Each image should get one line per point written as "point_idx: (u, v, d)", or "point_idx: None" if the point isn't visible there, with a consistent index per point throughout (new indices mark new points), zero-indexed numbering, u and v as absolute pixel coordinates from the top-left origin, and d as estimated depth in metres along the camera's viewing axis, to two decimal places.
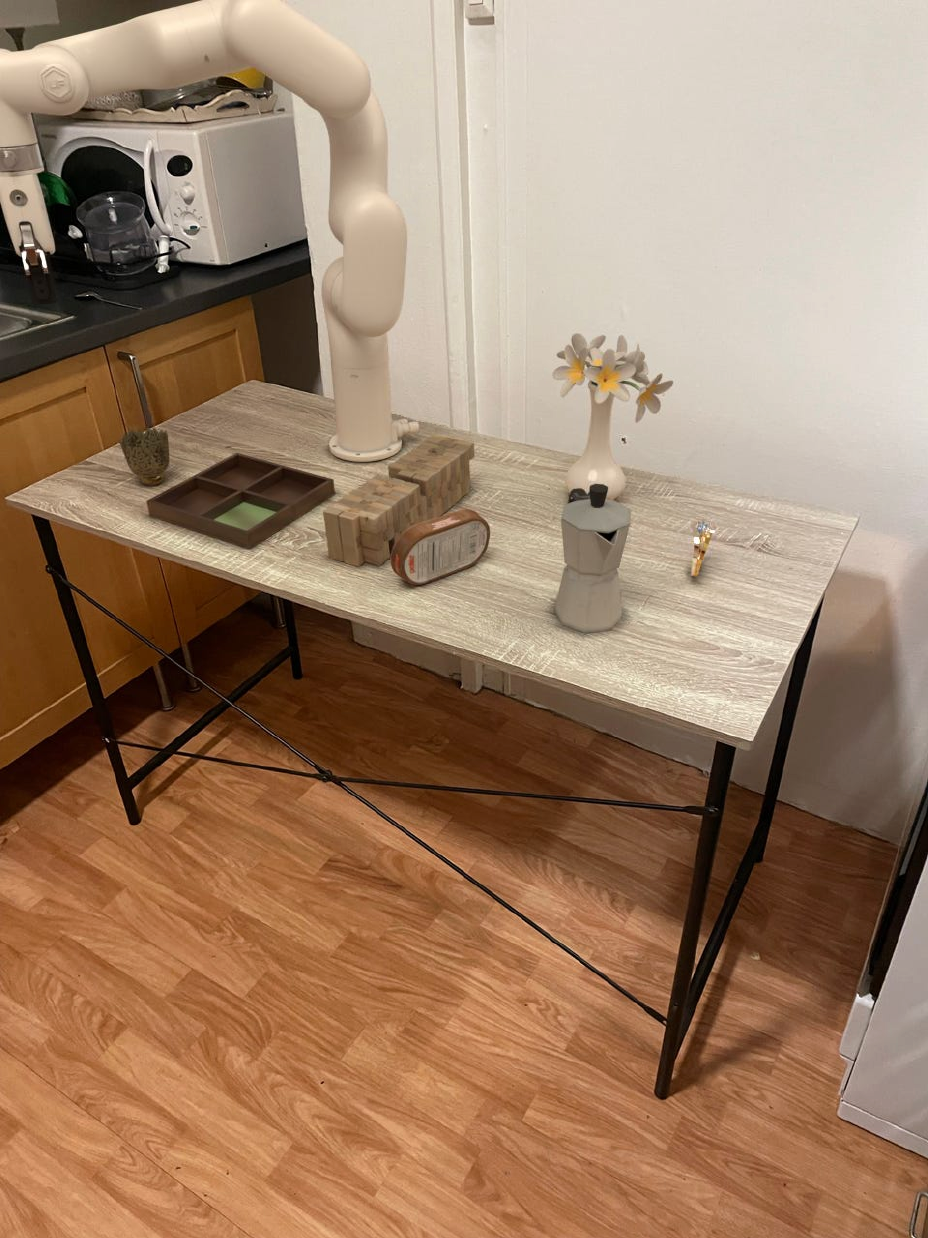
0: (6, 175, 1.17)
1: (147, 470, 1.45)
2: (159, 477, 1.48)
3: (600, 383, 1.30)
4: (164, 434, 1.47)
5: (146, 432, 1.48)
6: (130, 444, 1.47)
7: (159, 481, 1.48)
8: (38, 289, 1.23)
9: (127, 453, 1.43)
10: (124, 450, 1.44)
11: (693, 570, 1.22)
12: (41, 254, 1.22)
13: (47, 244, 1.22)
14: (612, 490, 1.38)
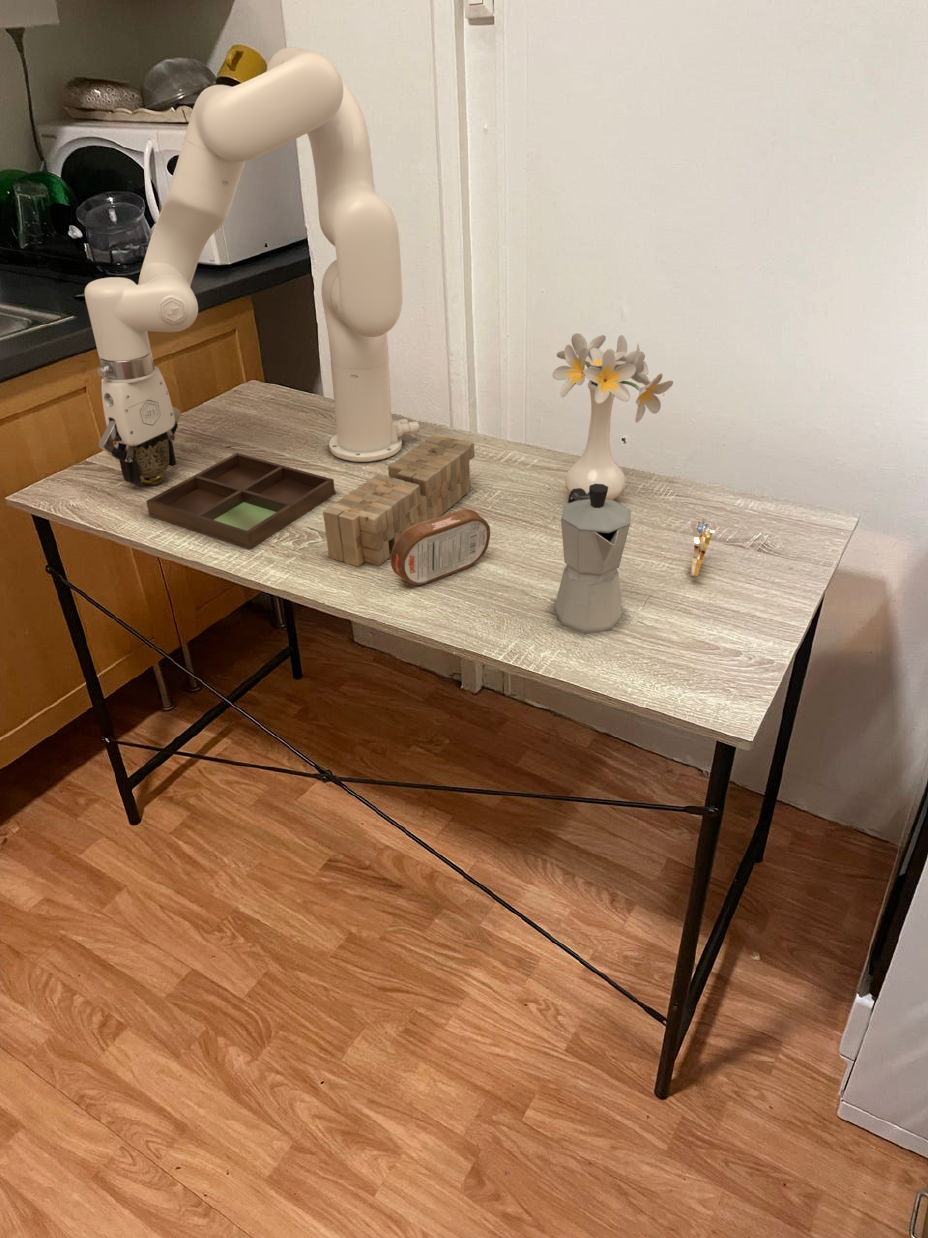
0: (106, 380, 1.37)
1: (147, 470, 1.45)
2: (159, 477, 1.48)
3: (600, 383, 1.30)
4: None
5: None
6: None
7: (159, 481, 1.48)
8: (123, 471, 1.44)
9: None
10: (124, 450, 1.44)
11: (693, 570, 1.22)
12: (127, 447, 1.41)
13: (125, 439, 1.39)
14: (612, 490, 1.38)
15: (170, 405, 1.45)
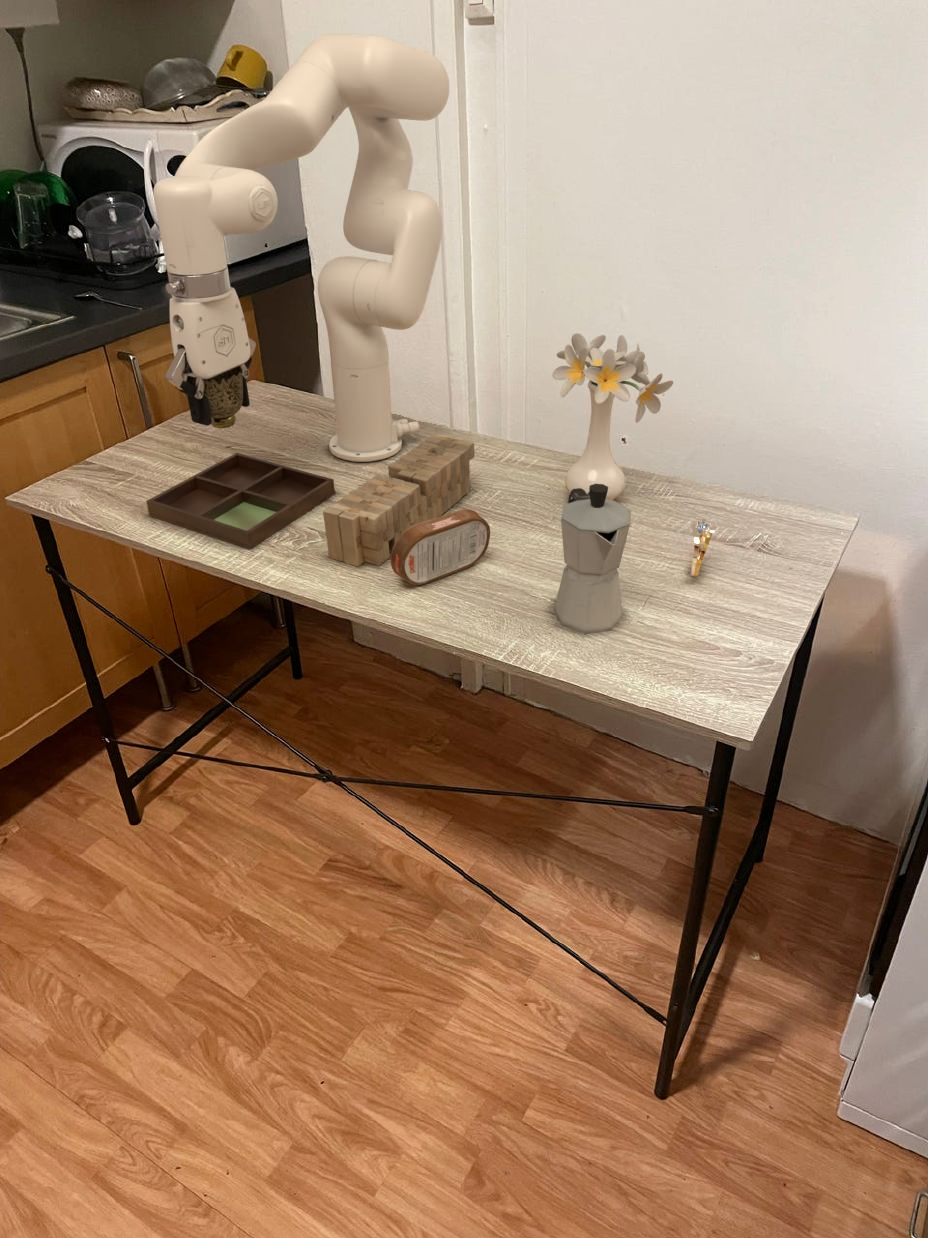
0: (176, 299, 1.17)
1: (218, 409, 1.25)
2: (231, 418, 1.28)
3: (600, 383, 1.30)
4: None
5: None
6: None
7: (231, 423, 1.28)
8: (191, 410, 1.24)
9: None
10: (193, 385, 1.24)
11: (693, 570, 1.22)
12: (197, 380, 1.22)
13: (196, 370, 1.20)
14: (612, 490, 1.38)
15: (246, 333, 1.25)
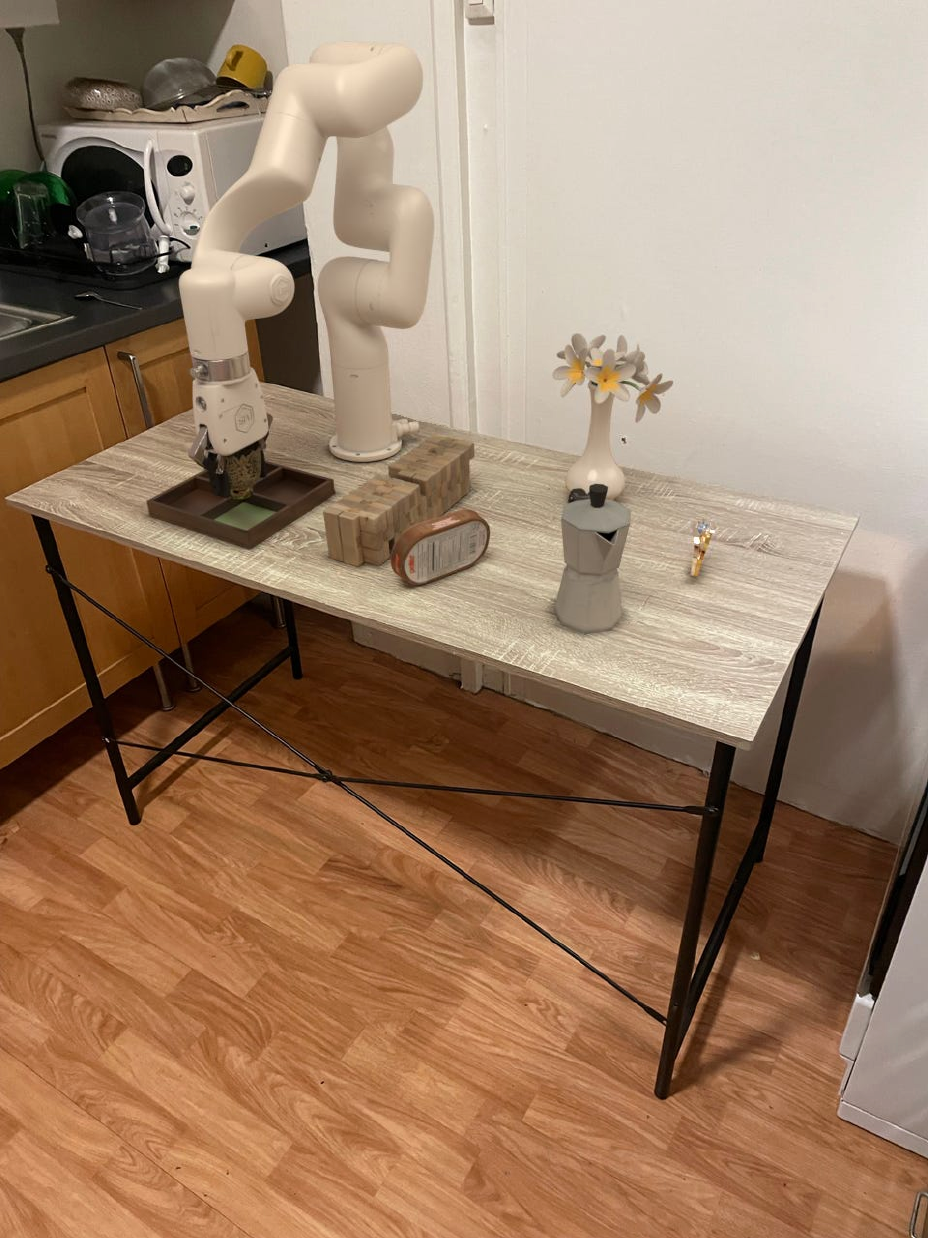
0: (199, 381, 1.22)
1: (238, 482, 1.30)
2: (249, 490, 1.33)
3: (600, 383, 1.30)
4: None
5: None
6: None
7: (249, 494, 1.33)
8: (212, 484, 1.29)
9: None
10: (213, 460, 1.28)
11: (693, 570, 1.22)
12: (218, 456, 1.26)
13: (218, 448, 1.24)
14: (612, 490, 1.38)
15: (264, 410, 1.30)
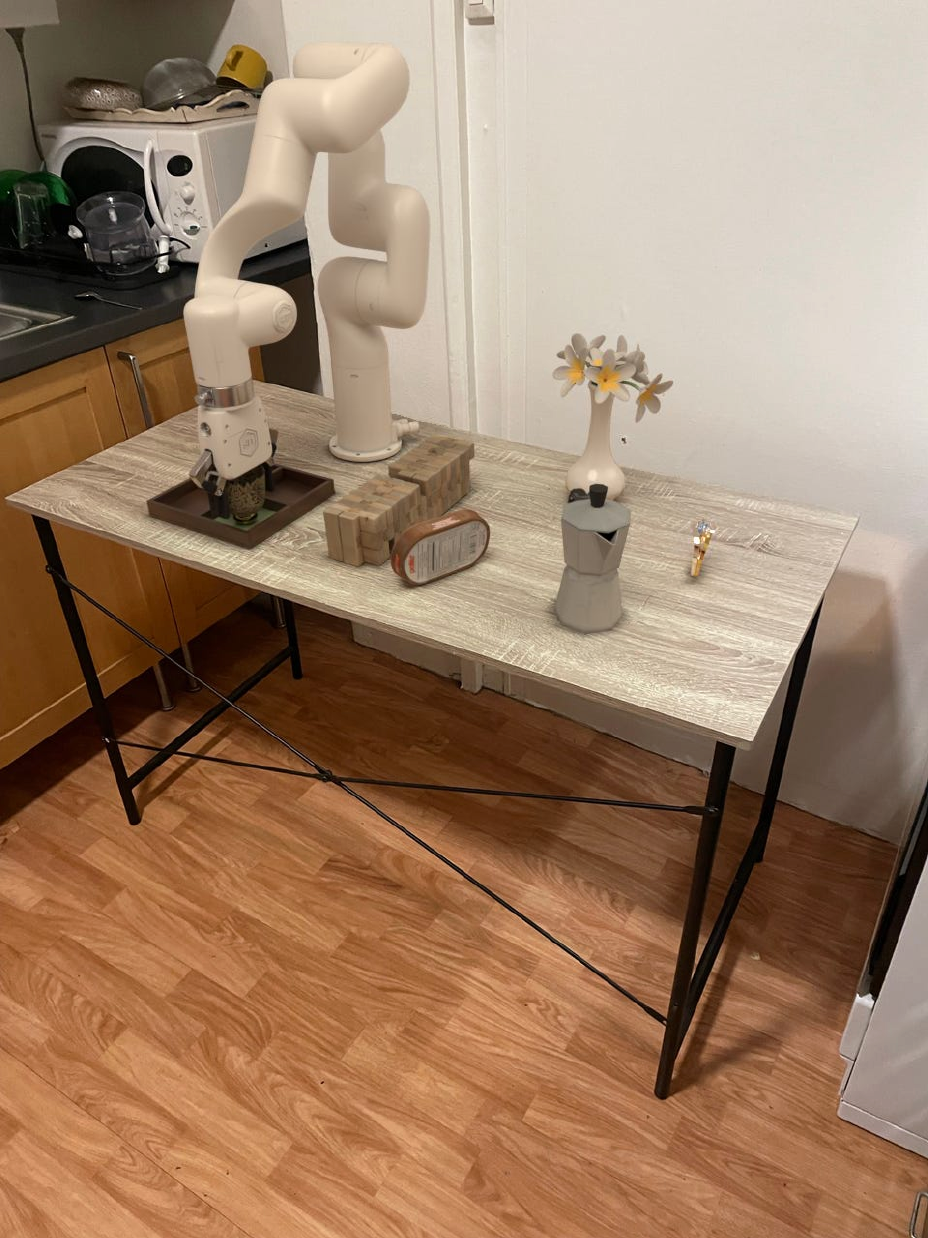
0: (204, 408, 1.24)
1: (242, 509, 1.32)
2: (253, 516, 1.35)
3: (600, 383, 1.30)
4: (259, 469, 1.35)
5: None
6: None
7: (253, 520, 1.36)
8: (211, 505, 1.30)
9: None
10: None
11: (693, 570, 1.22)
12: (219, 478, 1.28)
13: (222, 472, 1.27)
14: (612, 490, 1.38)
15: (268, 433, 1.32)
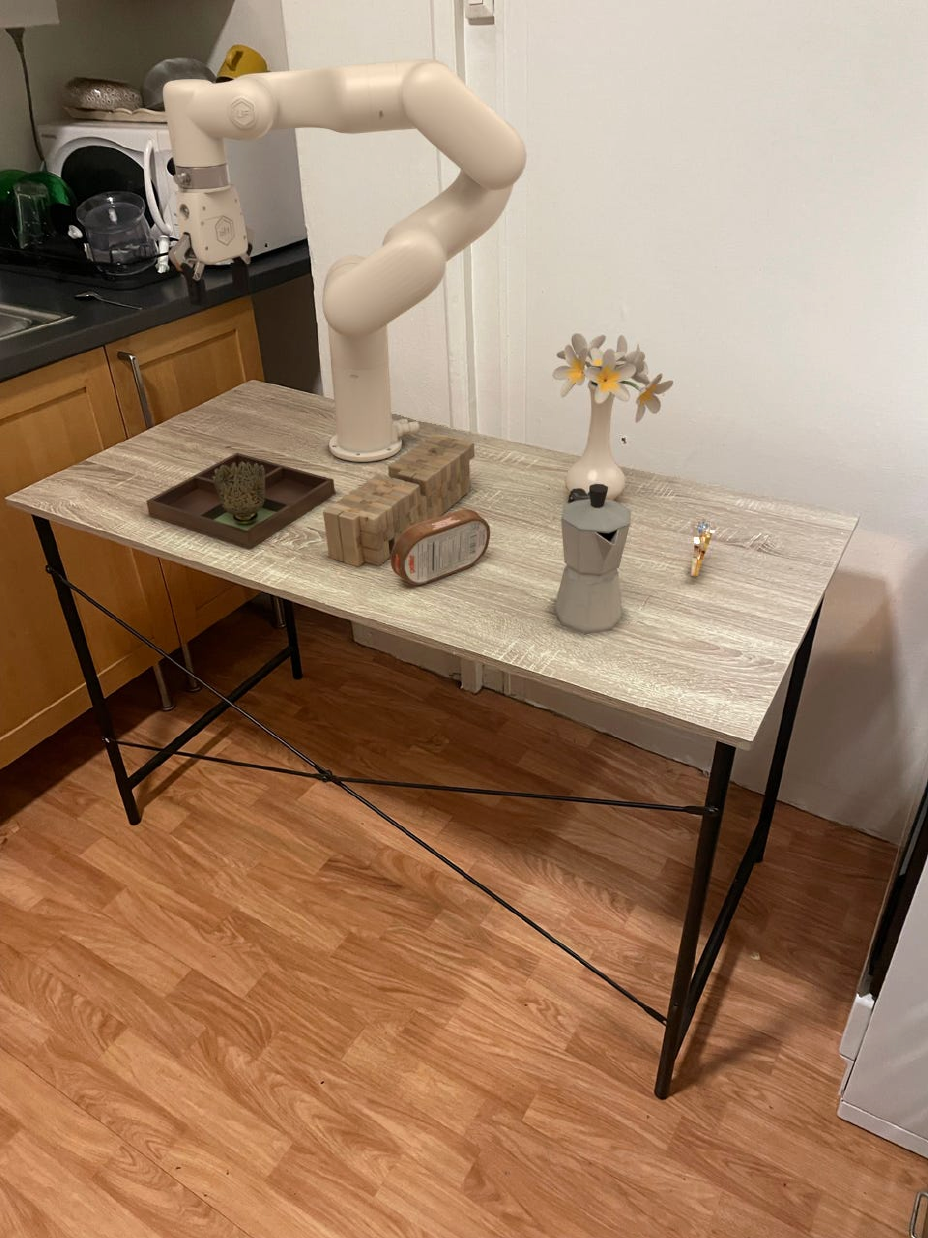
0: (182, 190, 1.33)
1: (242, 509, 1.32)
2: (253, 516, 1.35)
3: (600, 383, 1.30)
4: (260, 469, 1.35)
5: (239, 466, 1.36)
6: (222, 480, 1.35)
7: (253, 520, 1.36)
8: (190, 291, 1.39)
9: (222, 491, 1.31)
10: (218, 487, 1.31)
11: (693, 570, 1.22)
12: (197, 262, 1.36)
13: (200, 255, 1.35)
14: (612, 490, 1.38)
15: (243, 227, 1.40)
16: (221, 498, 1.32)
